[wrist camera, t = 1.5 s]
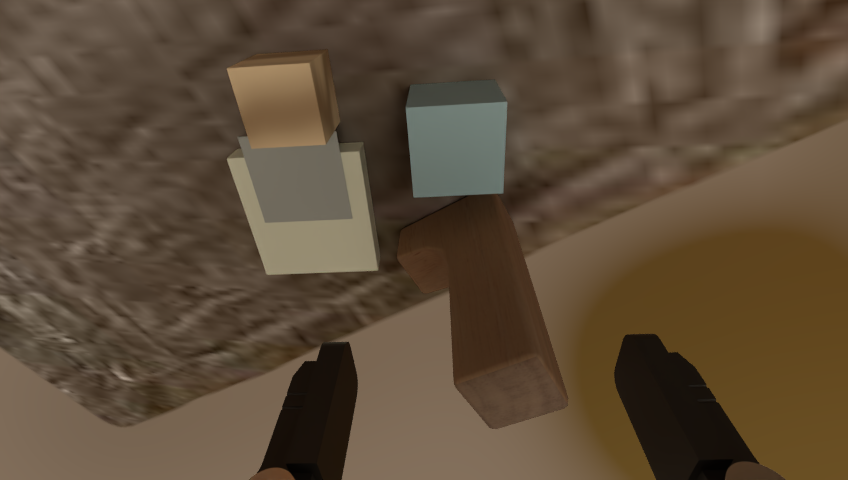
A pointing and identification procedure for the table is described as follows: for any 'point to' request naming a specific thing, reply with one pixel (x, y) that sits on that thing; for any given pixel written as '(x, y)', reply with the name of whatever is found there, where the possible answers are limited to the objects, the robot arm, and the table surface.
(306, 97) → the oak block
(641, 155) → the table surface
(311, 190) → the foundation board
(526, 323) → the wooden block
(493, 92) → the cube
